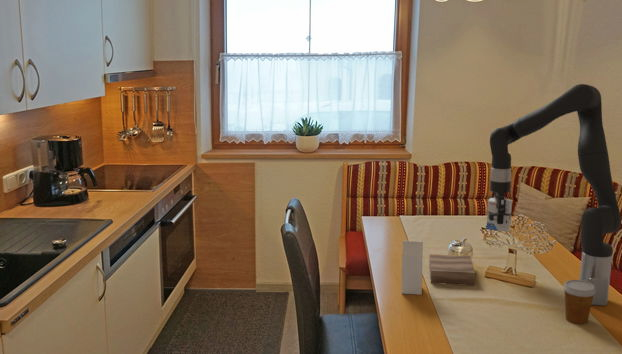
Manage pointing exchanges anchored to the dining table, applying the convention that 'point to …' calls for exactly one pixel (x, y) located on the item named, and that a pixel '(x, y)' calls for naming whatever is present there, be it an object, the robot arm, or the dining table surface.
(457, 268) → the walnut block
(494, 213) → the ink box
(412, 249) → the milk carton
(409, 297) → the dining table surface
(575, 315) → the disposable coffee cup
